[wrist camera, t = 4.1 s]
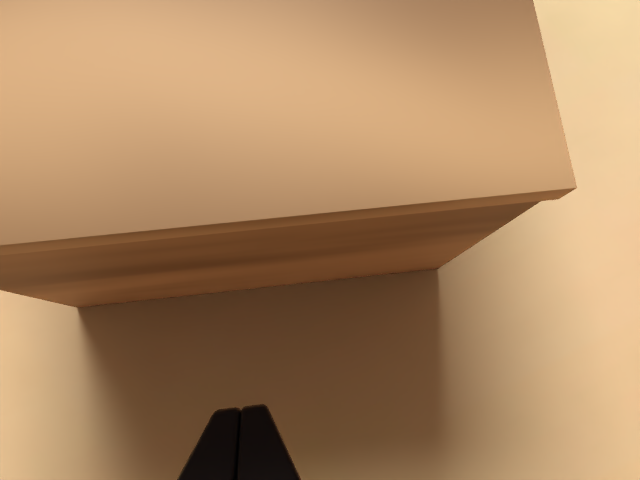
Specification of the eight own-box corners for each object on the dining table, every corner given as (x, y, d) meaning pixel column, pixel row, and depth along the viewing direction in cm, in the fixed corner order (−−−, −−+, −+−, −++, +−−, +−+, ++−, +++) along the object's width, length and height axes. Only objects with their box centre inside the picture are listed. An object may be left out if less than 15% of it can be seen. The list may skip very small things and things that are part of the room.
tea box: (440, 272, 16) (576, 187, 8) (75, 311, 15) (-165, 261, 7) (393, -9, 18) (464, -290, 10) (72, 15, 18) (-114, -268, 10)
